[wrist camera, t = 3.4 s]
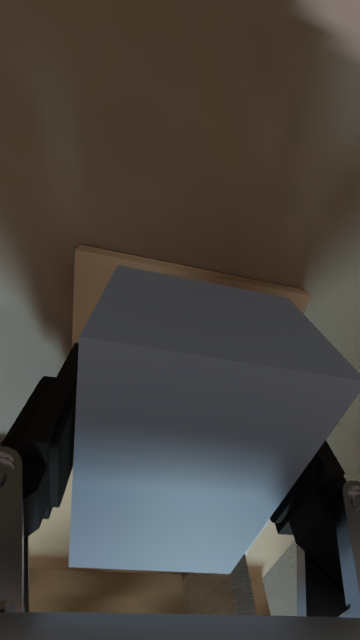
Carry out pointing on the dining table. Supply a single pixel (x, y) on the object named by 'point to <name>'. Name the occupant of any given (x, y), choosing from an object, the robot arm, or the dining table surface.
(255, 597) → the wooden platform
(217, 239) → the dining table surface
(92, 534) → the blue-grey rectangular block
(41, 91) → the dining table surface
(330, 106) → the dining table surface
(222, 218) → the dining table surface
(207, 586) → the bookend
